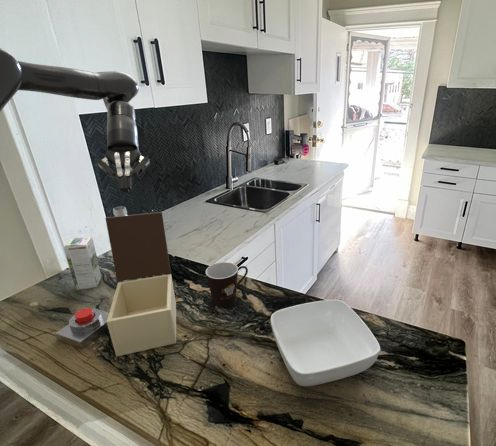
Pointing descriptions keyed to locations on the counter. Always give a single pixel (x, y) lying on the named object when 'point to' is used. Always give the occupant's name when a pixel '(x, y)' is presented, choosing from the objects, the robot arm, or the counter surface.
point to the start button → (84, 316)
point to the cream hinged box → (143, 315)
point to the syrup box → (83, 262)
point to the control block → (84, 330)
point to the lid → (138, 245)
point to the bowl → (323, 341)
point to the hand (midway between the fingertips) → (125, 191)
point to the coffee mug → (223, 282)
